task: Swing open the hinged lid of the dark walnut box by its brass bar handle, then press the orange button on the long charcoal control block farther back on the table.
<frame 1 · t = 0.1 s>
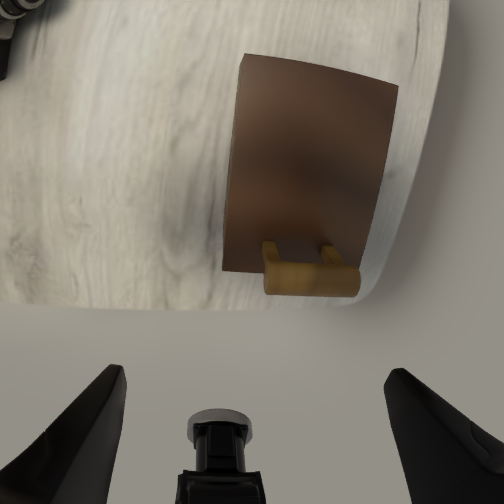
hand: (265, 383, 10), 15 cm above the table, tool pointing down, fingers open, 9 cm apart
lid: (320, 185, 15), point 7 cm above the table, hinge at 0.0°
chest: (293, 155, 21), on the table
camera: (17, 4, 13), on the table
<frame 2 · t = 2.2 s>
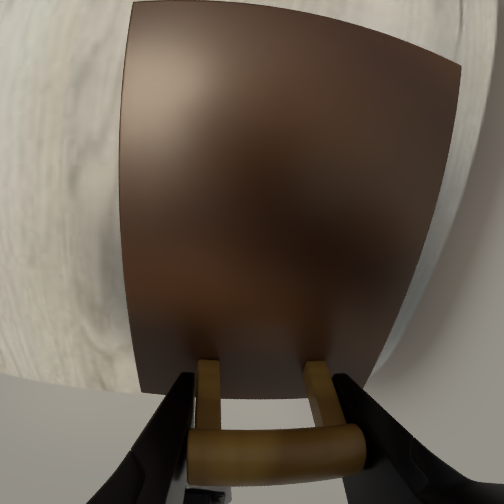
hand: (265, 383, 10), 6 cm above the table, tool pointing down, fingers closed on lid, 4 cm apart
lid: (298, 292, 7), point 7 cm above the table, hinge at 0.0°, touching gripper
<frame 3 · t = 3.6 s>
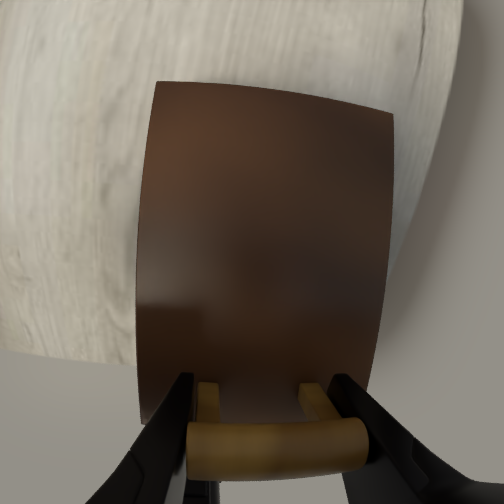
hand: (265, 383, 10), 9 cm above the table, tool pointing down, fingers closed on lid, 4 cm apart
lid: (281, 281, 8), point 9 cm above the table, hinge at 23.8°, touching gripper
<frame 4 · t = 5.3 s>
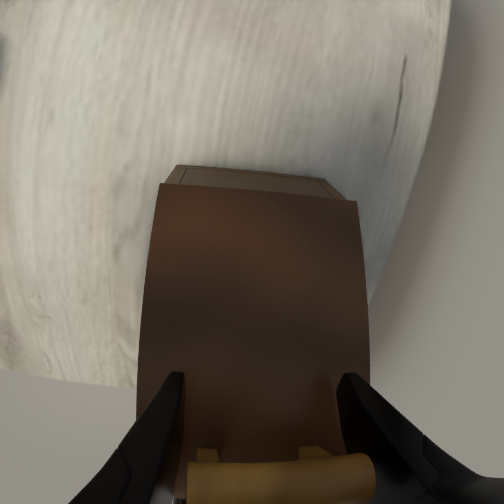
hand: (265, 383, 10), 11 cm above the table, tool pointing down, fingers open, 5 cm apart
lid: (270, 336, 9), point 10 cm above the table, hinge at 47.6°
chest: (241, 261, 20), on the table
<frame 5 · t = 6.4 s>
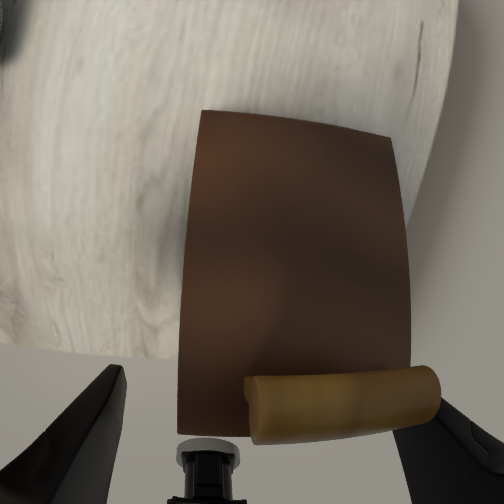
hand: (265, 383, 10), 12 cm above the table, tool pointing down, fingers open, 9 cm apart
lid: (326, 249, 9), point 10 cm above the table, hinge at 41.8°, touching gripper
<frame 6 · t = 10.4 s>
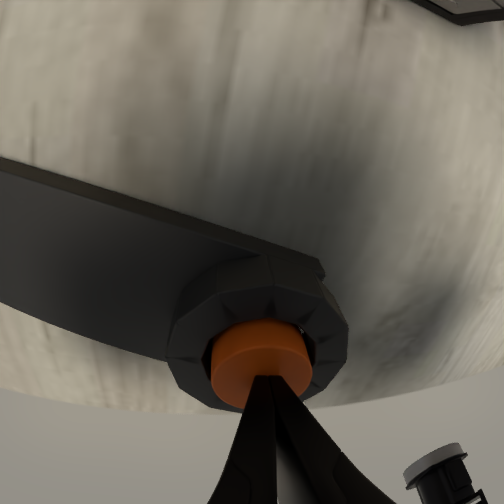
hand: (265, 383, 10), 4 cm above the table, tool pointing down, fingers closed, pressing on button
button: (259, 363, 10), point 3 cm above the table, slide at -0.4 cm, touching gripper
control block: (74, 254, 11), on the table
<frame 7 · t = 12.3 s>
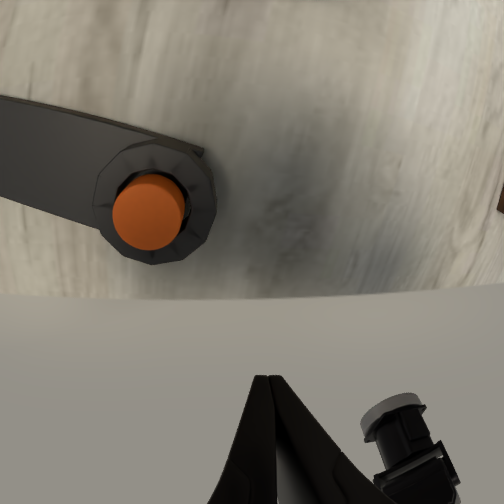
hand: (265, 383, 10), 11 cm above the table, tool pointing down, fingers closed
button: (149, 211, 14), point 3 cm above the table, slide at 0.1 cm
control block: (48, 155, 16), on the table
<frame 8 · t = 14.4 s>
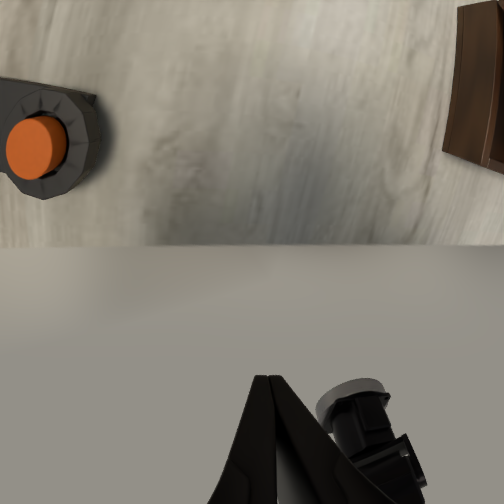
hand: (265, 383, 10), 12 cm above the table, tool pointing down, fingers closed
button: (35, 146, 13), point 3 cm above the table, slide at 0.1 cm
chest: (491, 94, 16), on the table
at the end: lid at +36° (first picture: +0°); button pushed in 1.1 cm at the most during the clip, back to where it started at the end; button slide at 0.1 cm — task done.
